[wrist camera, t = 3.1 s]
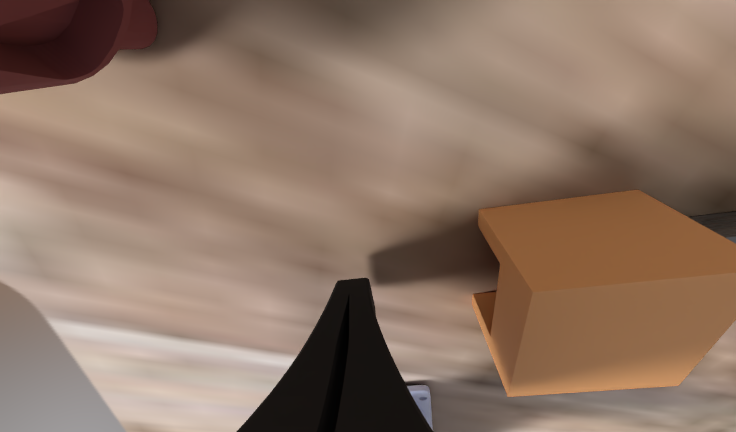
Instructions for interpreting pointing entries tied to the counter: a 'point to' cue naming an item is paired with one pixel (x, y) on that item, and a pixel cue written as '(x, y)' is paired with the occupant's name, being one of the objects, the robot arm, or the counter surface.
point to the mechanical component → (67, 39)
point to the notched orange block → (602, 293)
